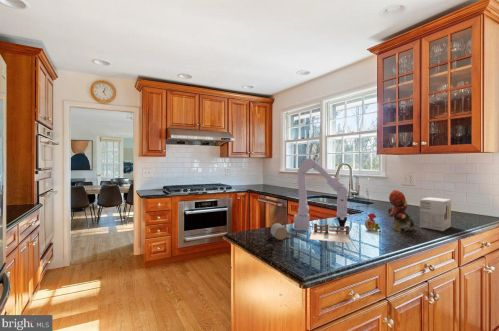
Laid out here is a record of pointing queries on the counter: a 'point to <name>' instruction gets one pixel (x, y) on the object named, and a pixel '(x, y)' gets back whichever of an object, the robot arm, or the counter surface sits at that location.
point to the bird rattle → (371, 222)
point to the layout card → (329, 236)
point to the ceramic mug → (279, 231)
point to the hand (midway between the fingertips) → (341, 229)
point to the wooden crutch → (339, 230)
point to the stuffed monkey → (399, 210)
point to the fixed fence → (321, 228)
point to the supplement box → (435, 213)
